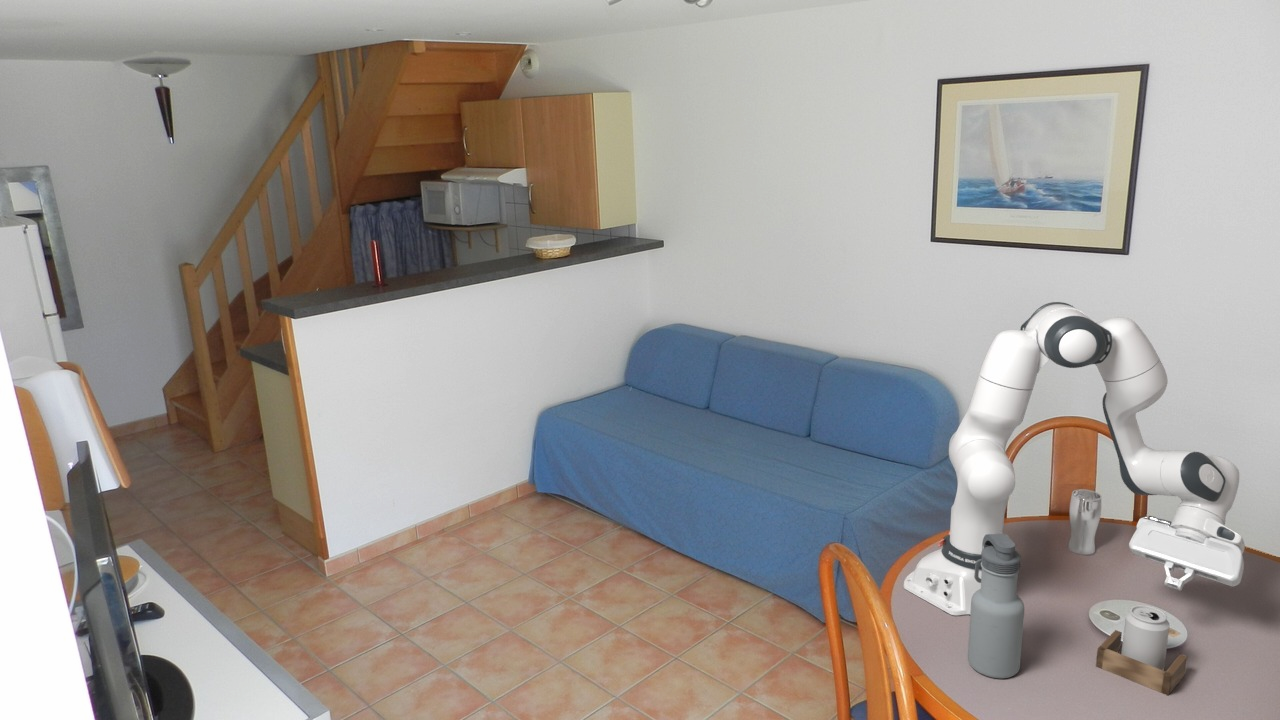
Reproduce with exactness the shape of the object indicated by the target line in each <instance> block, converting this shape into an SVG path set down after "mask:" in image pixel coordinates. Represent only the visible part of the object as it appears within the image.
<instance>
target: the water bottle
mask: <svg viewBox="0 0 1280 720" xmlns="http://www.w3.org/2000/svg"><path fill="white" fill-rule="evenodd" d="M981 555H982V559H979V560H977V561H976V563H975V574H974V578H975V580H976V581H977V582H979V583H981V589H979V590H977V591H976V592H975V593H974V594H973V596H972V598H971V610H970V614H969V626H968V627H969V629H968V647H967V661H968V663H969V665H970V667H971V668H973V670H974V671H975V672H978V673H979V674H981V675H983V676H986V677H988V678H993V679H1008V678H1011V677H1014V676H1016V674H1017V673H1018V672H1019V671H1020V669H1021V659H1022V647H1023V646H1022V645H1023V635H1024V634H1023V633H1024V621H1025V619H1024V618H1025V604H1024V601H1023V599H1022V598H1021V597H1020V596H1019V595H1018V591H1017V590H1018V580H1019V573H1020V571H1021V569H1020V567H1021V555H1020V553H1019V552H1018V551H1017V550H1016V543H1015V542H1014V541H1013V540H1012V539H1011V538H1010V536H1009V535H1008V534H1006V533H1003V534H986V535H985V536H984V538H983V543H982V552H981ZM980 565H981V567H982V575H981V579H980V578H979V576H978V574H979V566H980Z"/></svg>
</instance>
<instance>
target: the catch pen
mask: <svg viewBox="0 0 1280 720" xmlns="http://www.w3.org/2000/svg"><path fill="white" fill-rule="evenodd" d="M1122 633H1123V632H1122V631H1119V630H1116V629H1114V631H1113V632H1112V633H1111V634H1110V635H1109V636H1108V637H1107V638H1106V640H1104V641H1103V642H1102V643H1101V645H1099V646H1098V648H1097V652H1096V662H1095V667H1098V668H1099V669H1102V670H1105V671H1107V672H1109V673H1112V674H1114V675H1117V676H1119V677H1121V678H1124V679H1127V680H1129V681H1131V682H1135V683H1136V684H1139V685H1141V686H1143V687H1147V688H1150V689H1152V690H1153V691H1156V692H1159V693H1161V694H1164V695H1166V696H1169V695H1170V694H1171V693H1172V691H1173V690H1174V689H1175V688H1176V686H1177V685H1178V684H1179V683H1180V681H1181V680H1182V678H1183V677H1184V676H1185V674H1186V668H1187V667H1186V666H1187V660H1188V656H1187V655H1184V654H1181V653H1180V654H1179V655H1178V656H1177V658H1175V660H1174V661H1173V662H1172V664H1171V665H1170V666H1169V667H1168V668H1167V669H1166V670H1164V669H1163V670H1161V669H1158V668H1155V667H1153V666H1150V665H1148V664H1145V663H1142V662H1140V661H1137V660H1135V659H1132V658H1130V657H1127V656H1124V655H1122V654H1121V653H1119V651H1120V650H1121V642H1122Z"/></svg>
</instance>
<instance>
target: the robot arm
mask: <svg viewBox="0 0 1280 720" xmlns="http://www.w3.org/2000/svg"><path fill="white" fill-rule="evenodd" d="M1049 361H1052V362H1053V363H1054V364H1056V365H1058V366H1061V367H1063V368H1070V369H1078V368H1083V367H1087V366H1090V365H1095V366H1096V367H1097V370H1098V373H1099V375H1100V377H1101V378H1102V380H1103V383H1104V385H1105V393H1104V395H1103V397H1102V410H1103V414H1104V418H1105V422H1106V424H1107V427H1108V431H1109V434H1110V437H1111V440H1112V443H1113V447H1114V449H1115V451H1116V455H1117V458H1118V462H1119V464H1118V465H1119V473H1120V477H1121V480H1122V481H1123V484H1124V485H1125V487H1126V488H1128V490H1129V491H1130V492H1131V493H1133V494H1135V495H1138V496H1167V497H1178V498H1179V499H1180V500H1181V502H1180V503H1179V504H1178V506H1177V508H1176V509H1175V513H1174V515H1173V518H1172V519H1171V520H1166V519H1163V518H1159V517H1156V516H1154V515H1147V516H1142V517H1140V518H1139V520H1138V522H1137V523H1136V527H1135V529H1136V530H1135V532H1134V533H1133V535H1132V537H1131V539H1129V543H1128V547H1129V550H1130V552H1131V553H1132V554H1133V555H1134V556H1137V557H1140V558H1143V559H1147V560H1150V561H1153V562H1155V563H1159V564H1162V565H1164V566H1163V567H1164V570H1165V575H1166V578H1165V580H1164V585H1165V587H1168V588H1171V589H1174V590H1178V591H1182V590H1183V588H1184V585H1185V584H1187V583H1189V582H1190V581H1192V580H1193V579H1194V577H1195V575H1196V576H1199V577H1202V578H1205V579H1208V580H1212V581H1214V582H1217V583H1221V584H1223V585H1227V586H1230V587H1233V588H1234V587H1235V586H1238V585H1240V583H1241V581H1242V577H1243V574H1244V569H1245V568H1244V567H1245V560H1244V556H1243V554H1244V553H1245V548H1246V547H1245V546H1246V545H1245V541H1244V538H1243V536H1242V535H1241V534H1239V533H1238V532H1236V531H1235V530H1232V529H1231V528H1229V527H1228V526H1226V517H1227V514H1228V512H1230V510H1231V509H1232V508H1233V504H1234V502H1235V499H1236V495H1237V493H1238V489H1239V484H1240V470H1239V469H1238V467H1237V466H1236V465H1235V464H1234V463H1233V462H1232V461H1230V460H1229V459H1226V458H1225V457H1222V456H1219V455H1213V454H1210V455H1209V454H1208V455H1206V454H1205V453H1202V452H1200V451H1192V450H1163V449H1161V450H1157V449H1153V448H1151V447H1149V446H1147V445H1146V444H1145V442H1144V438H1143V436H1142V433H1141V430H1140V426H1139V423H1138V421H1137V415H1136V414H1137V413H1139V412H1142V411H1143V410H1146V409H1147V408H1149V407H1151V406H1152V405H1153V404H1155V403H1157V401H1159V400H1160V399H1161V397H1163V395H1164V394H1165V391H1166V389H1167V386H1168V382H1169V381H1168V376H1167V372H1166V369H1165V367H1164V365H1163V363H1162V361H1161V359H1160V357H1159V356H1158V353H1157V351H1156V349H1155V348H1154V346H1153V344H1152V343H1151V340H1150V339H1149V338H1148V337H1147V335H1146V334H1145V333H1144V330H1142V329H1141V327H1140V326H1139V325H1138V324H1137V323H1136V322H1135V321H1134V320H1133V319H1130V318H1129V317H1124V316H1123V317H1121V316H1115V317H1110V318H1107V319H1105V320H1103V321H1100V322H1099V321H1098V322H1095V321H1094V320H1092V319H1091V318H1090V317H1089V316H1088V315H1087V314H1086V313H1084V312H1083V311H1081V310H1080V309H1079V308H1076V307H1075V306H1073V305H1071V304H1070V303H1067V302H1062V301H1053V302H1048V303H1045V304H1043V305H1041V306H1040V307H1039V308H1037V309H1036V310H1035V311H1034V312H1033V313H1032V314H1031V316H1030V317H1029V318H1027V320H1026V321H1024V322H1023V323H1022V324H1021V326H1020V329H1006V330H1002V331H1001V332H999V333H997V335H996V336H994V338H993V340H992V342H991V344H990V346H989V348H988V350H987V352H986V354H985V357H984V359H983V361H982V365H981V366H980V370H979V373H978V376H977V379H976V383H975V386H974V390H973V393H972V396H971V399H970V403H969V405H968V408H967V410H966V412H965V415H964V416H963V418H962V420H961V422H960V424H959V426H958V428H957V430H956V431H955V432H954V433H953V434H952V436H951V438H950V440H949V442H948V443H949V444H948V459H949V461H950V462H951V465H952V466H953V469H954V471H955V473H956V479H957V489H956V494H955V498H954V503H953V504H952V506H951V507H950V523H949V524H950V528H949V532H948V534H946V535H945V536H943V537H942V539H941V540H939V542H938V545H937V546H938V548H939V549H937V550H934V551H931V552H930V553H928V554H926V555H925V556H924V557H922V558H921V559H920V560H919V562H918V563H917V564H916V566H915V569H914V570H913V571H912V572H910V573H909V574H908V575H907V576H906V577H905V578H904V581H903V589H905V590H906V591H908V592H910V593H911V594H913V595H915V596H917V597H919V598H920V599H922V600H924V601H925V602H928V603H930V604H931V605H933V606H935V607H937V608H938V609H940V610H942V611H944V612H946V613H948V614H949V615H951V616H964V615H970V610H971V598H972V596H973V594H974V593H975V592H976V591H977V590H979V589H981V583H979V582H977V581H976V580H975V578H974V574H975V563H976V561H977V560H979V559H982V555H981V552H982V543H983V538H984V536H985V535H986V534H1004V524H1005V513H1006V510H1007V506H1008V503H1009V499H1010V496H1011V495H1012V494H1013V492H1014V490H1015V487H1016V473H1015V470H1014V465H1013V464H1012V461H1011V460H1010V459H1009V457H1008V455H1007V454H1006V447H1007V443H1008V441H1009V440H1010V438H1011V436H1012V435H1013V432H1014V431H1015V430H1016V428H1017V427H1018V426H1020V425H1021V424H1022V423H1023V421H1024V417H1025V416H1026V412H1027V409H1028V406H1029V403H1030V399H1031V396H1032V393H1033V390H1034V386H1035V383H1036V380H1037V376H1038V374H1039V373H1040V371H1041V369H1042V368H1043V366H1045V364H1046V363H1048V362H1049ZM941 546H942V547H941ZM940 547H941V548H940ZM1175 569H1177V570H1180V571H1183V572H1184V575H1183V576H1182V577H1180V578H1176V577H1173V576H1172V575H1171V572H1174V571H1175ZM981 575H982V567H981V565H980V566H979V574H978V576H979V578H980V579H981Z"/></svg>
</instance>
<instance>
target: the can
mask: <svg viewBox="0 0 1280 720" xmlns="http://www.w3.org/2000/svg"><path fill="white" fill-rule="evenodd" d="M1169 633H1170V622H1169V620H1168V619H1167V615H1166V613H1164V612H1163V611H1162V610H1160V609H1159V608H1157V607H1153V606H1150V605H1146V604H1139V605H1133V606H1131V607H1130V609H1129V611H1127V613H1125V617H1124V625H1123V637H1122V645H1121V653H1120V654H1122V655H1124V656H1127V657H1130V658H1132V659H1135V660H1137V661H1140V662H1142V663H1145V664H1148V665H1150V666H1153V667H1155V668H1158V669H1161V670H1163V671H1164V669H1165V663H1166V655H1167V650H1168V649H1167V648H1168V641H1169V635H1170V634H1169Z"/></svg>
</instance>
